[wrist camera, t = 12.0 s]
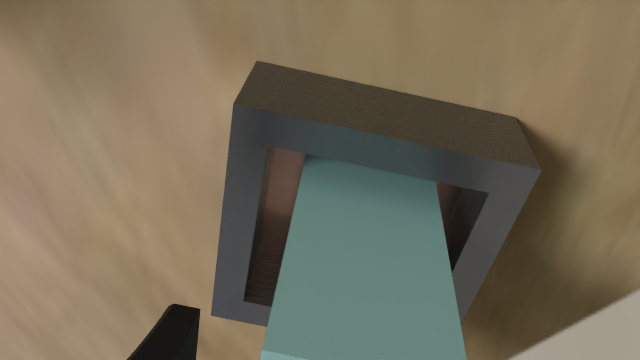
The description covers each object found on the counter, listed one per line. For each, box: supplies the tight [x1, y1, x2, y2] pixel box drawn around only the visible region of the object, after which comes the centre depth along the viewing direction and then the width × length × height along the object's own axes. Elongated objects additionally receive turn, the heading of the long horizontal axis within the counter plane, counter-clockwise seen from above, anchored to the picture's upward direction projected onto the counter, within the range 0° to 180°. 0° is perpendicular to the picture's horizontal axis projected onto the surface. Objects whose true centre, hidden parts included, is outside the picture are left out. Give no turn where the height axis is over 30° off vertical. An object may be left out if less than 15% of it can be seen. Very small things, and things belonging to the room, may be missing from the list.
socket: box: [211, 61, 542, 327], centre depth 16 cm, size 8×8×3 cm
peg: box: [260, 154, 467, 360], centre depth 14 cm, size 4×4×8 cm
